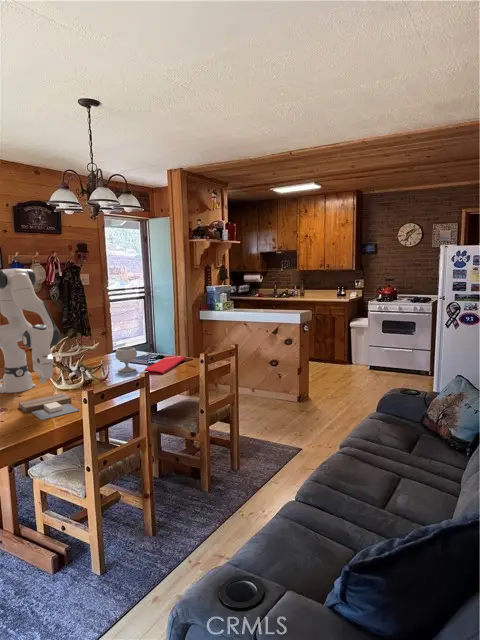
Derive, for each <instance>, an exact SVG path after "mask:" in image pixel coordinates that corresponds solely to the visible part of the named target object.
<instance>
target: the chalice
mask: <svg viewBox="0 0 480 640" xmlns="http://www.w3.org/2000/svg"><path fill="white" fill-rule="evenodd" d="M137 353H138V352H137V350H136V348H135V347H134V346H121V347H118V348H116V351H115V358H116V360H118V361H120V362H122V363H124V365H125V366H124V367H121V368H118V369H117V371H118V372H120V373H130V372H135V370H136V371H137V368H136V367H133V366H129V364H130V362H132V361H133V360H134V359H136V358H137V356H138V354H137Z"/></svg>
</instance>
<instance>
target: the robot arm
mask: <svg viewBox="0 0 480 640" xmlns="http://www.w3.org/2000/svg"><path fill="white" fill-rule="evenodd" d="M36 277H37V276H36V273H35V272H34V270H33V269H31V268H30V269H29V268H16V267H15V268H14V267H13V268H5V269H1V268H0V314H1V315H2V316H3V317H5V318H6V319H7V321H8V324H1V325H0V349H1V351H2V354H3V359H4V374H3V377H2V378H1V379H0V393H1V394H3V393H5V394H6V393H8V394H11V393H22V392H26V391H28V390H31V389H32V388H34V387H36V383H34V382H33V377H32V372H30V371H28V370H29V366H28V364H27V354H26V350H24V349H22V348H20V346H19V345H18V342H21V341H22V344H23V346H24V347H25V348H28V349H31V361H32V369H33V371H34V372H35V373H37V374H38V376H39V379H40V380H39V381H40V383H41V384H42V385H43V384H46V381H47V379H52V378H53V375H54V365H53V363H54V361H55V359H54V358H53V355H52V349H51V347H55V346H58V345H59V343H60V342H61V340H62V335H61V332H60V330H59V328H58V327H57V325H56V324H55V321H54V319H53V317H52V314H51V312H50V310H49V308H48V306H47V304H46V303H45V301H44V300H42V299H41V298H39V297H38V295H37V294H36V292H35V288H34V285H35V284H36V281H37V280H36V279H37V278H36ZM23 310H24V311H29V312H33V313H35V314H37V315H38V316H40V318H41V321H42V323H43V324H42V323H38V324H34V325H32V323H30V322H29V321H28V320H27V319H26V317H25V315H24V312H23Z"/></svg>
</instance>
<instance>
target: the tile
mask: <svg viewBox="0 0 480 640" xmlns="http://www.w3.org/2000/svg"><path fill="white" fill-rule="evenodd" d="M44 409H46V410H47V411H48V412H50V413H52V412H56V411H60V410H63V407H62V405H60V404H59V403H57V402H53V403H48V404H44Z"/></svg>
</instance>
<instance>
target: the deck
mask: <svg viewBox="0 0 480 640" xmlns="http://www.w3.org/2000/svg"><path fill="white" fill-rule="evenodd" d="M53 402H57V403H59V404H60V405H62V404H66V403H69V404H71V403H72V398H71V397H70V396H68V395H66V394H65V393H63V392H62V393H56V394H52V395H48V396H43V397H38V398H33V399H30V400H25V401H21V402H18V408H20V409H21V410H22V411H23V412H24V413H25V414H29V413H31V412H33V411H37V410H41V409H44V404H48V403H53Z"/></svg>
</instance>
